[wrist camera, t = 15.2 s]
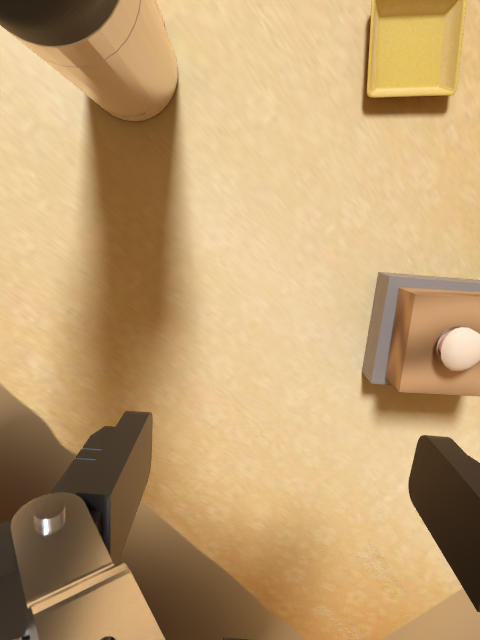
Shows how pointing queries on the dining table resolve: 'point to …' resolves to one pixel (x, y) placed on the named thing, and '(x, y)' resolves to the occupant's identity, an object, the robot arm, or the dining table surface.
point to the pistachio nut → (459, 348)
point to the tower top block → (431, 341)
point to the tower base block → (386, 311)
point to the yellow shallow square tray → (415, 47)
